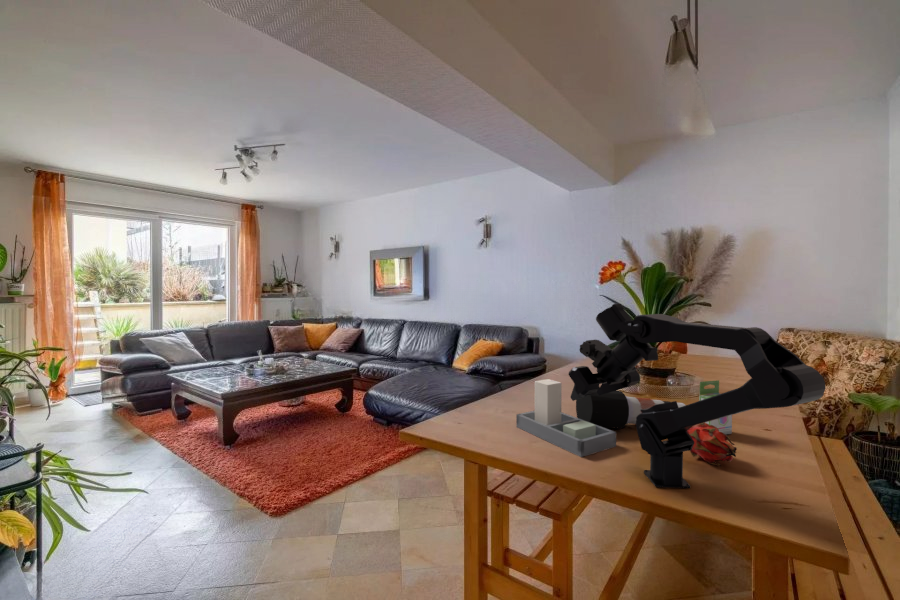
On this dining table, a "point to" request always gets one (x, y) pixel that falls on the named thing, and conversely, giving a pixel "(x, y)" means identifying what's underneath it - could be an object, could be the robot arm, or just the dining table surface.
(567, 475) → the dining table surface
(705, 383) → the ink box
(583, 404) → the black and white bottle
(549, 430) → the tray
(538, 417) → the cream block
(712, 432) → the dragon fruit
